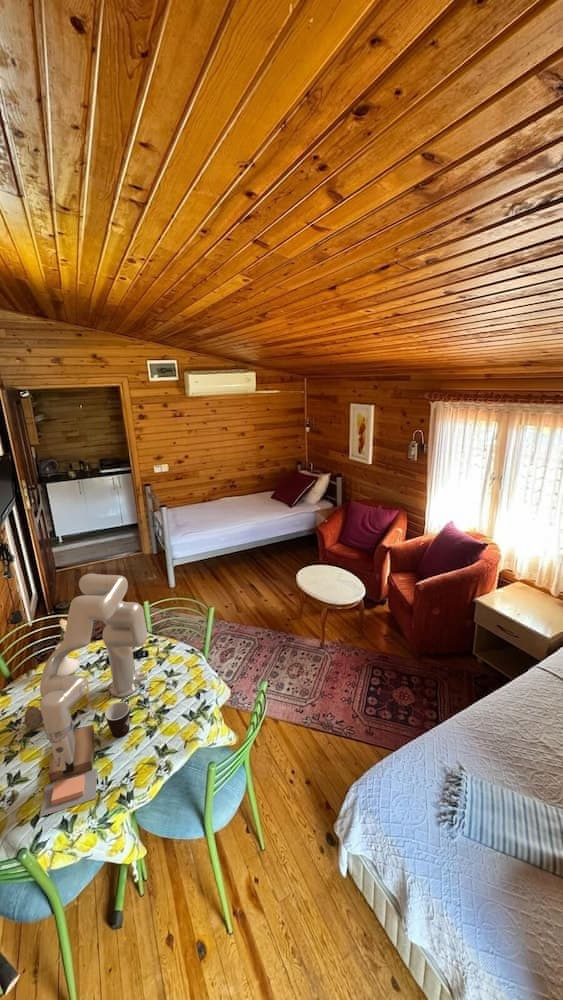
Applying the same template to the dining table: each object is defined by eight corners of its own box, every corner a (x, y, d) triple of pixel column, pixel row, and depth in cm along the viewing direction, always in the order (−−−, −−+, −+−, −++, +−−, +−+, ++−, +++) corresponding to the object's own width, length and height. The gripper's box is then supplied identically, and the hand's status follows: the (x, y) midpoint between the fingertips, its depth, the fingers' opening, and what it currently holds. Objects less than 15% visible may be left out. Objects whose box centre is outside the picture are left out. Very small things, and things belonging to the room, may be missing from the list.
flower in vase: (72, 680, 182) (62, 632, 174) (47, 679, 182) (36, 632, 174) (86, 660, 194) (77, 615, 186) (62, 660, 194) (53, 614, 186)
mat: (97, 769, 141) (97, 768, 141) (95, 798, 131) (95, 798, 131) (45, 785, 136) (44, 784, 136) (39, 817, 126) (39, 817, 126)
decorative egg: (46, 720, 161) (42, 700, 158) (41, 732, 155) (36, 712, 152) (30, 722, 160) (25, 702, 157) (24, 735, 154) (18, 714, 151)
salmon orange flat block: (82, 790, 132) (83, 795, 132) (84, 774, 137) (85, 778, 138) (51, 800, 129) (52, 805, 129) (54, 783, 134) (55, 787, 135)
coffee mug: (118, 744, 150) (114, 723, 147) (103, 734, 155) (100, 713, 151) (143, 722, 160) (140, 702, 156) (129, 713, 164) (126, 693, 161)
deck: (94, 732, 155) (93, 724, 154) (92, 769, 141) (90, 760, 140) (56, 743, 151) (54, 735, 150) (50, 782, 137) (48, 773, 135)
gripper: (70, 743, 125) (79, 787, 130) (74, 707, 138) (82, 748, 144) (42, 751, 122) (53, 795, 128) (49, 713, 135) (59, 755, 141)
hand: (68, 770), depth 136 cm, fingers closed
